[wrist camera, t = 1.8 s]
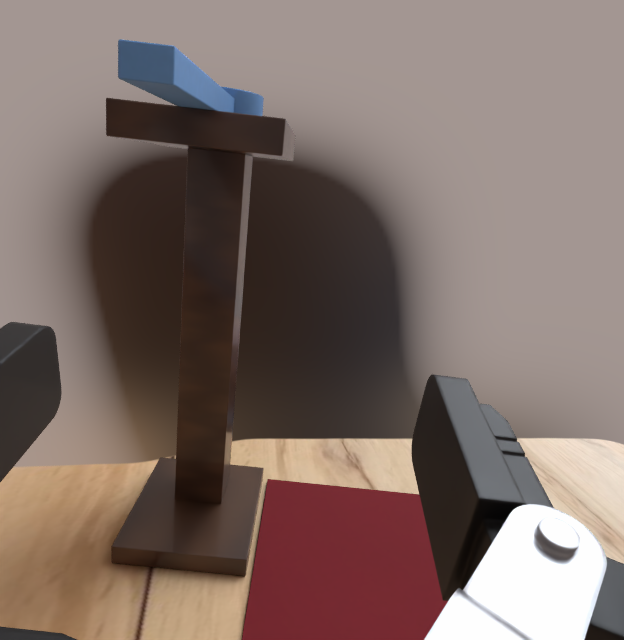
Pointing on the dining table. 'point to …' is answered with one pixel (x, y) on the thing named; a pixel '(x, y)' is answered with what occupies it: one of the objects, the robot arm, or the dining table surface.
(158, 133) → the stand
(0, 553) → the dining table surface
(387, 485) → the dining table surface
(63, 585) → the dining table surface
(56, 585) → the dining table surface
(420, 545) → the cloth
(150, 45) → the blue disc paddle
